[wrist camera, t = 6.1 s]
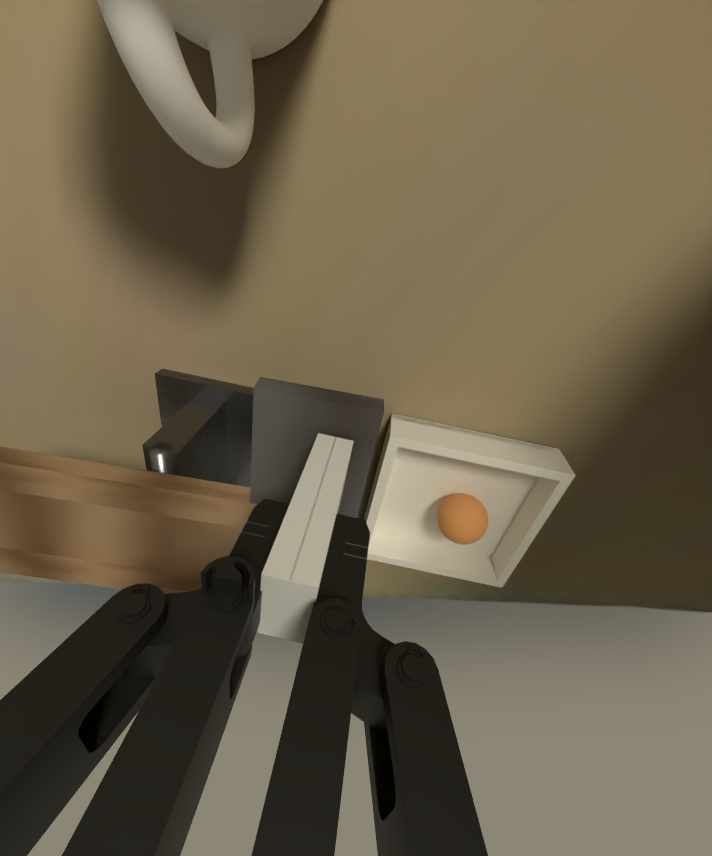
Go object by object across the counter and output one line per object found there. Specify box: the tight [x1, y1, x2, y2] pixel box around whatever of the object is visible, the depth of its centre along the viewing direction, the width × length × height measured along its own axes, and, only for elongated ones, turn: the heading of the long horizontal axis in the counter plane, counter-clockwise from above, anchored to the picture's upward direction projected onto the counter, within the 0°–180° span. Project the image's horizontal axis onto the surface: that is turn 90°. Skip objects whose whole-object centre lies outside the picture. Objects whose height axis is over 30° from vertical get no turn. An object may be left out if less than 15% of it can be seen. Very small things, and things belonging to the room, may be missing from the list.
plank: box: [0, 377, 384, 594], centre depth 17 cm, size 20×13×3 cm, turn 80°
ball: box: [437, 493, 488, 545], centre depth 24 cm, size 3×3×3 cm
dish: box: [363, 413, 576, 588], centre depth 24 cm, size 11×11×3 cm
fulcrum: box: [143, 369, 253, 488], centre depth 23 cm, size 7×10×7 cm
